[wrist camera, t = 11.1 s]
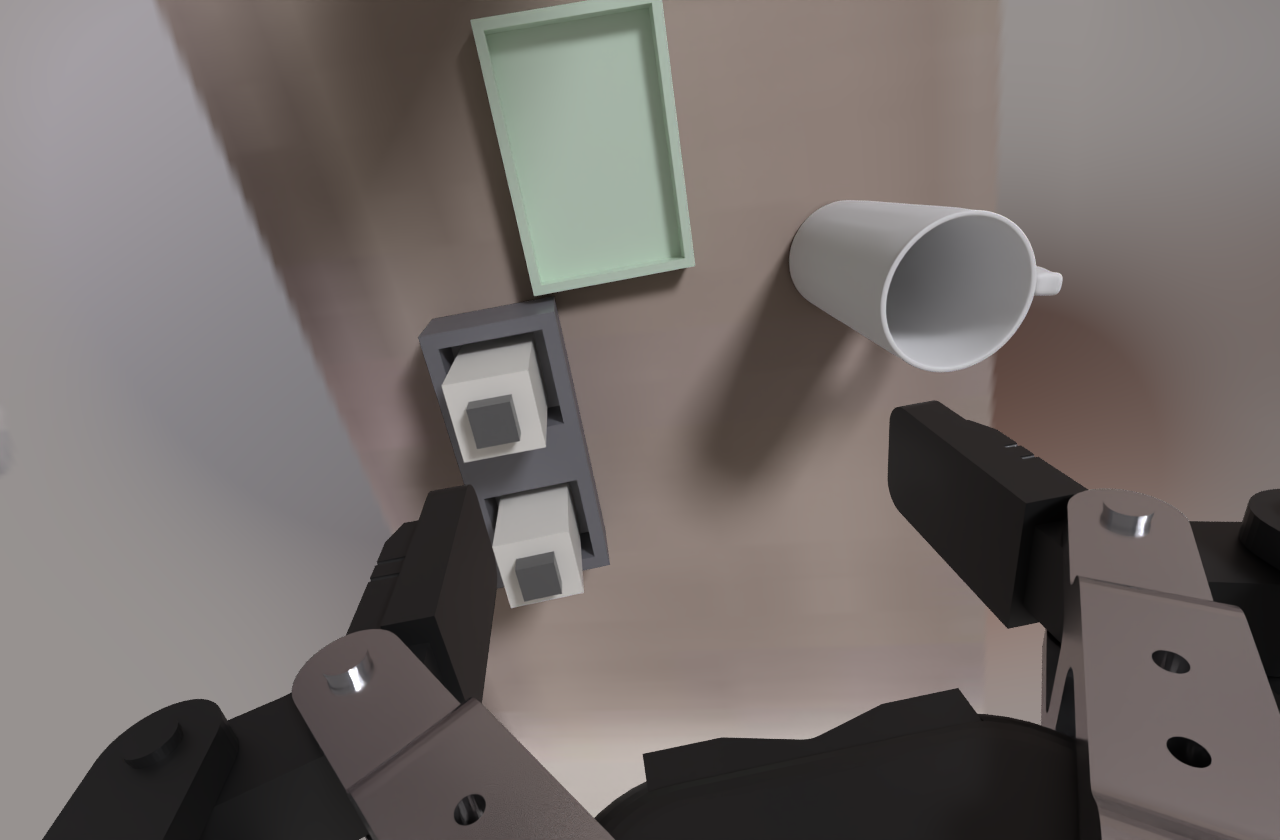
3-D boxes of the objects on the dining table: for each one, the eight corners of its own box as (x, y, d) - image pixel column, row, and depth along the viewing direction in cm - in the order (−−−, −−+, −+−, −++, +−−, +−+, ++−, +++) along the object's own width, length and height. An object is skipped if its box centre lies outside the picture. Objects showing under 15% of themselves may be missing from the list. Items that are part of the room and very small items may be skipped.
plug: (462, 344, 35) (437, 393, 28) (532, 332, 35) (527, 377, 28) (480, 409, 37) (461, 472, 29) (547, 397, 37) (545, 456, 29)
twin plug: (502, 483, 39) (490, 558, 31) (566, 470, 39) (569, 542, 31) (518, 536, 40) (509, 620, 33) (579, 524, 40) (584, 604, 33)
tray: (474, 26, 30) (470, 19, 29) (655, -4, 31) (660, -12, 29) (535, 290, 35) (534, 296, 34) (689, 261, 36) (695, 266, 34)
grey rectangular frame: (432, 319, 35) (417, 337, 32) (554, 296, 36) (554, 311, 32) (502, 551, 42) (497, 588, 38) (605, 529, 42) (609, 564, 38)
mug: (778, 314, 38) (870, 376, 27) (787, 196, 35) (893, 212, 24) (935, 307, 39) (1085, 364, 28) (954, 192, 36) (1128, 206, 25)
